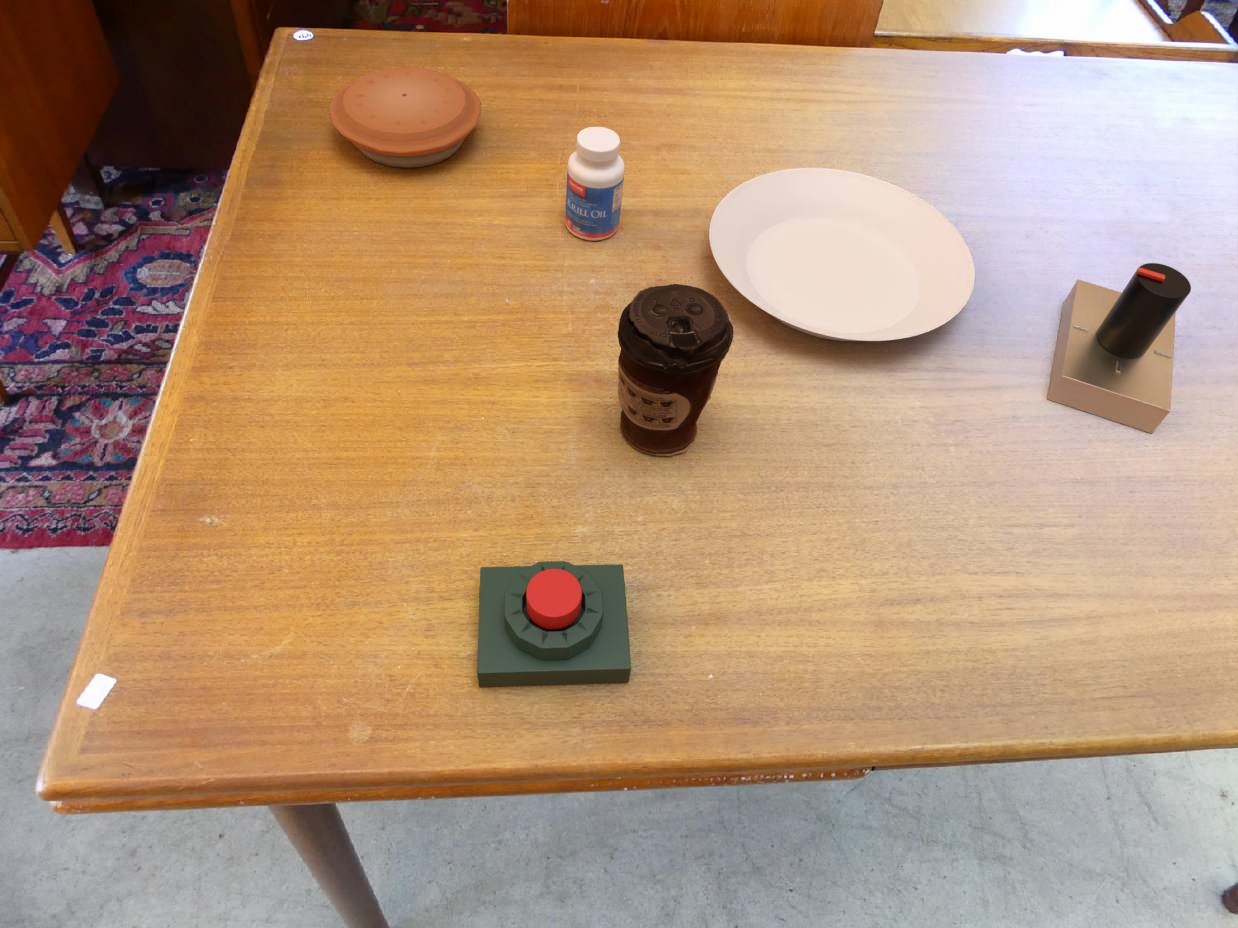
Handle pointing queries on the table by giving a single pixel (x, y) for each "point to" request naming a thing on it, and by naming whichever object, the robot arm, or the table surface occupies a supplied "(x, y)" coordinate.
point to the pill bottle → (594, 184)
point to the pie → (405, 115)
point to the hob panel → (1109, 365)
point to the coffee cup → (669, 364)
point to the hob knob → (1143, 310)
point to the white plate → (841, 254)
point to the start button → (553, 598)
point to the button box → (552, 630)
